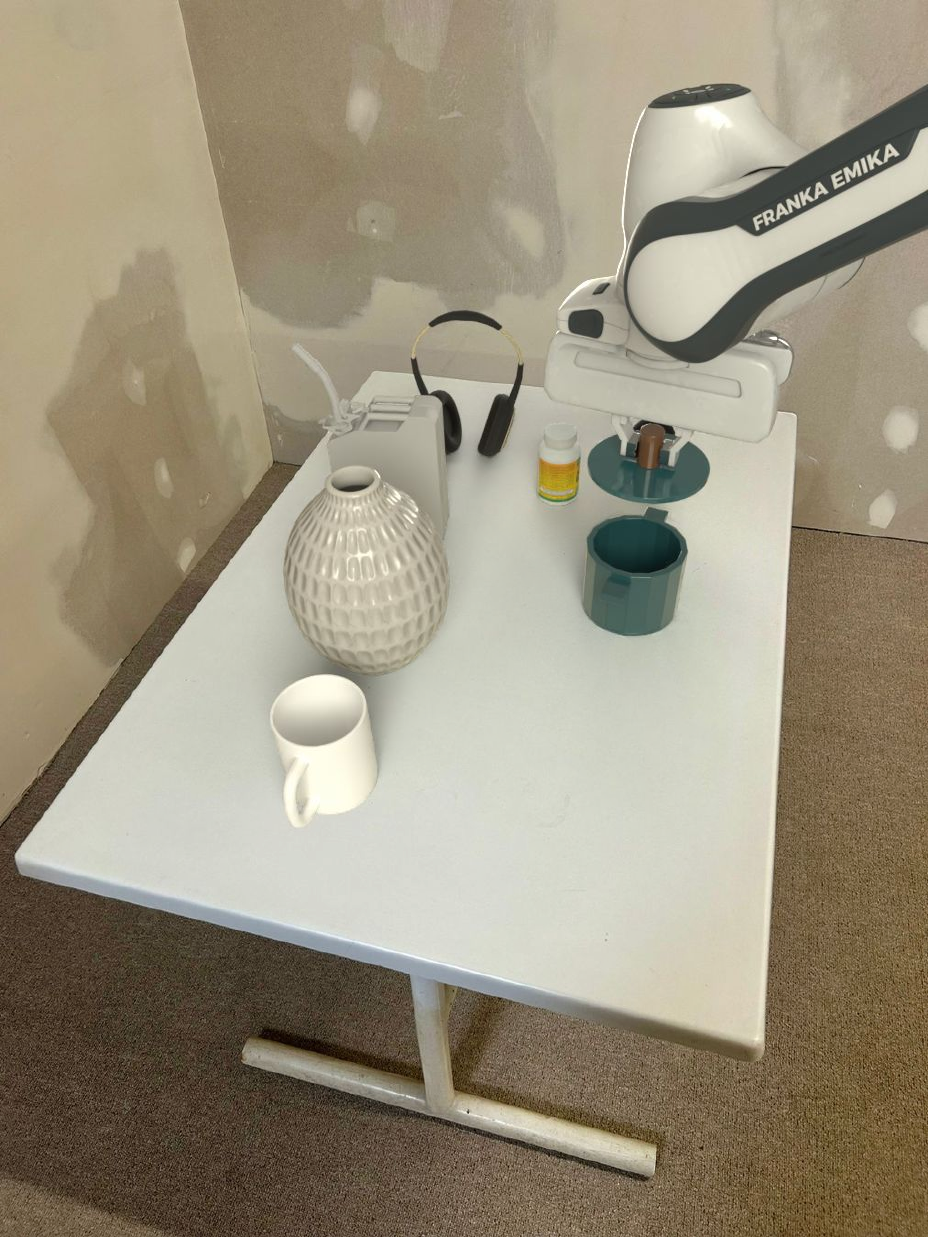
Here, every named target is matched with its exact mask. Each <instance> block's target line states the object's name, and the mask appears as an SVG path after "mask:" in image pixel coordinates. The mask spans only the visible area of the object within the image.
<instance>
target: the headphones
mask: <svg viewBox="0 0 928 1237" xmlns="http://www.w3.org/2000/svg"><path fill="white" fill-rule="evenodd" d="M452 321H453V322H454V321H459V322H473V323H479V324H482V325H486V326H488V327H491V328H493V329H495V330H496V331H499V332H501V333H502V334H503V335H504V336H505V337H506V338H507V339H508V340H509V341H510V343H511V344H512V346H513V348H514V349H515V352H516V354H517V357H518V363H517V369H516V376H515V378H514V383H513V386H512V388H511V390H510V392H509V395H507V394H505V393H498V394H496V395H495V396H494V399H493V400H492V403H491V407H490V409H489V412H488V415H487V417H486V418H487V419H486V421H485V424H484V427H483V430H482V432H481V436H480V439H479V442H478V445H477V452H478V453H479V454H480V455H481V456H483V457H486V458H492V457H493V456H494V457H495V456H496V455H497V454H498V453H499V454H500V453H501V452H502V450H503V449H504V448H505V445H506V444H507V442H508V439H509V436H510V433H511V430H512V427H513V424H514V421H515V417H516V408H515V404H516V401H517V399H518V396H519V393H520V389H521V386H522V382H523V377H524V366H525V363H524V359H523V355H522V352H521V349H520V347H519V345H518V343H517V342H516V340H515V339H514V338H513V336H512V335H511V334H510V333H509V332H508V331H507V330H506V329H505V328H504V327H503V325H502V324H500V323H499V322H498V321H497V320H495V319H494V318H492V317H490V316H488V315H486V314H484V313H481V312H479V311H474V310H468V309H461V310H460V309H459V310H451V311H449V312H446V313H443V314H440V315H438V316H437V317H435V318H434V319H432V320H431V321H430V322H428V324H427V325H426V326H425V327H424V328H423V329H422V330H421V331H420V333H419V334H418V335H417V336H416V338H415V340H414V342H413V345H412V347H411V355H410V363H411V370H412V374H413V378H414V381H415V384H416V386H417V389H418V392H419V395H428V396H435V397H437V398H438V399H439V400H440V401H441V403H442V409H443V425H444V441H445V455H449V454H454V453H455V452H457V451H458V450H459V448H460V447H461V445H462V440H463V427H462V419H461V416H460V413H459V409H458V407H457V403H456V402H455V399H454V398H453V397H452V395H451V394H450V393H449V392H448V391H446V390H442V389H438V390H433V391H432V392H430V393H429V391H428V388H427V386H426V384H425V381H424V380H423V377H422V375H421V371H420V369H419V368H420V367H419V365H418V364H419V363H418V359H417V356H416V350H417V347H418V343H419V342H420V340H421V338H422V337H423V336H424V335H425V333H426V332H428V330H430V329H431V328H434V327H436V326H439V325H441V324H443V323H447V322H452Z"/></svg>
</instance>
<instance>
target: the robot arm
mask: <svg viewBox="0 0 928 1237" xmlns="http://www.w3.org/2000/svg"><path fill="white" fill-rule="evenodd" d="M629 152H630V153H629V157H628V162H627V168H626V175H625V184H624V194H623V201H622V202H623V203H622V212H621V213H622V214H621V224H622V229H623V235H624V236H623V237H624V248H623V253H622V256H621V259H620V262H619V264H618V267H617V272H616V275H611V276H606V277H600V278H594V279H589V280H586V281H584V282H583V283H581V284H580V285H579V286H577V287H576V288H575V289H574V290H573V291H572V292H571V293H570V294H569V296H568V297H566V299H564V301H563V303H562V304H561V305H560V307H559V309H558V311H557V312H556V317H555V319H556V327H557V331H556V333H555V334H554V335H553V336H552V338H551V339H550V341H549V344H548V347H547V351H546V356H545V362H544V371H543V383H542V384H543V391H544V392H545V394H546V395H547V397H548V398H549V400H550V401H552V402H555V403H560V404H561V403H562V404H564V405H565V404H566V405H570V406H575V407H578V408H579V407H580V408H584V409H589V410H593V411H598V412H602V413H609V414H611V423H610V424H611V425H612V426H613V429H614V430H615V432H616V434H618V436H619V438H620V440H622V442H621V452H620V454H621V455H623V456H627V457H632V458H637V452H638V444H639V436H640V433H636V432H634V429H633V427H634V426H633V424H632V422H631V420H630V419H631V418H632V419H636V420H639V421H640V420H645V421H650V422H655V423H659V424H664V425H669V426H672V427H673V428H674V427H675V435H676V436H678V437H677V438H676V439H675V440H674V441H672V440H667V439H665V441H664V443H663V445H662V446H661V448H660V452H659V456H660V457H659V459H658V463H659V464H663V465H667V466H671V467H674V466H675V464H676V462H677V460H678V457H679V452H680V449H681V448H682V447H683V446H684V445H685V444H686V443H687V442H688V441H689V442H690V440H691V439H692V437H693V434H694V433H695V432H697V433H702V434H706V435H712V436H716V437H720V438H721V437H722V438H726V439H730V440H735V441H741V442H745V443H749V444H758V443H761V442H762V441H763V440H765V439H766V438H768V437H769V436H770V434H771V433H772V431H773V428H774V426H775V424H776V419H777V417H778V416H777V415H778V411H779V406H780V398H781V390H782V385H783V384H784V383H786V382H787V381H788V379H789V378H790V375H791V373H792V370H793V366H794V361H795V350H794V348H793V346H792V345H791V343H790V342H789V341H788V340H787V339H785V338H783V337H781V334H780V332H778V331H776V330H772V329H768V328H769V327H771V326H772V325H774V324H777V323H778V322H781V321H783V320H785V319H787V318H789V317H790V316H793V315H794V314H796V313H799V312H800V311H802V310H804V309H805V308H808V307H809V306H812V305H814V304H815V303H817V302H819V301H822V300H823V299H825V298H827V297H828V296H830V295H832V294H833V293H835V292H836V291H838V290H840V289H842V288H843V287H844V286H845V285H847V284H848V283H849V282H850V281H851V280H852V279H853V278H854V277H855V276H856V275H857V273H858V272H859V270H860V269H861V268H862V265H863V264H864V262H865V260H866V258H867V257H868V256H869V257H870V256H871V255H873V254H875V253H878V252H880V251H882V250H884V249H886V248H889V247H891V246H893V245H895V244H897V243H899V242H902V241H904V240H906V239H909V238H911V237H914V236H916V235H919V234H921V233H924V232H927V231H928V79H927V80H926V81H924V82H923V83H922V84H920V85H919V86H918V87H916V88H915V89H914V90H912V91H911V92H909V93H908V94H907V95H905V96H904V97H902V98H901V99H899V100H898V101H896V102H894V103H893V104H891V105H889V106H888V107H886V108H884V109H883V110H881V111H879V112H878V113H876V114H874V115H873V116H871V117H869V118H867V119H866V120H864V121H862V122H861V123H859V124H857V125H855V126H854V127H852V128H851V129H849V130H847V131H845V132H844V133H842V134H840V135H838V136H837V137H835V138H833V139H832V140H830V141H828V142H826V143H824V144H823V145H821V146H819V147H818V148H816V149H814V150H812V151H810V150H809V149H807V148H805V147H804V146H802V145H801V144H800V143H798V142H797V141H795V140H794V139H793V138H791V137H790V136H789V135H787V134H786V133H785V132H783V131H782V130H781V129H780V128H779V127H778V126H777V125H775V123H774V122H773V121H772V120H771V119H770V118H769V117H768V115H767V114H766V112H765V111H764V109H763V107H762V104H761V102H760V100H759V98H758V96H757V94H756V93H755V91H753V90H752V89H751V88H749V87H746V86H743V85H741V84H737V83H710V84H701V85H699V86H693V87H685V88H682V89H678V90H674V91H671V92H668V93H666V94H662V95H660V96H657V98H655V99H653V100H652V101H651V102H650V103H649V104H647V105H646V106H645V108H644V109H643V111H642V113H641V115H640V117H639V119H638V122H637V124H636V128H635V130H634V134H633V137H632V142H631V146H630V151H629Z"/></svg>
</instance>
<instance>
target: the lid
mask: <svg viewBox="0 0 928 1237" xmlns="http://www.w3.org/2000/svg"><path fill="white" fill-rule="evenodd" d="M634 432H636V433H640V436H639V444H638V452H637V458H632V457H627V456H623V455H621V454H620V452H621V442H622V440H620V438H619V436H618V434H617V433H615V434H613V435H610V436H607V437H606V438H603V439H602V440H600V441H598V442H597V443H596V444H595V445H594V446H593V447H592V448H591V450H590V452H589V453H588V456H587V461H586V462H587V463H586V469H587V472H588V475H589V477H590V479H591V480H592V482H593V483H594V484H595V485H596V486H597V487H599V488H600V489H601V490H602V491H604V492H606V493H607V494H609V495H611V496H613V497H615V498H618V499H621V500H625V501H628V502H633V503H637V504H646V505H647V504H648V505H660V504H661V505H663V504H670V503H671V504H672V503H675V502H680V501H682V500H683V501H684V500H685V499H689V498H691V497H692V496H694V495H696V494H698V493H699V492H700V491H701V490H703V488H704V487H705V486H706V484H707V483H708V481H709V478H710V475H711V474H710V473H711V464H710V461H709V459H708V456H707V455H706V454H705V453H704V451H703V450H702V449H700V447H698V446H697V445H696V444H694V443H692V442H691V441H690V440H689V441H688V442H687V443H686V444H685V445H684V446H683V447H682V448H681V449H680V452H679V457H678V460H677V462H676V464H675V466H674V467H671V466H667V465H663V464H659V463H658V459H659V457H660V456H659V452H660V448H661V446H662V445H663V443H664V441H665V439H667V440H672V441H674V440H675V439H676V438H677V437H678V436H675V435H671V434H667V433H665V429H664V428H663V427H662V426H660V425H657V424H647V425H644V426H642V427H641V429H640V431H634Z"/></svg>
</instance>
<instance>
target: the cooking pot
mask: <svg viewBox="0 0 928 1237" xmlns="http://www.w3.org/2000/svg"><path fill="white" fill-rule="evenodd" d="M668 518H669V511H668V510H664V509H661V508H657V507H652V506H647V507H646V509H645V511H644V513H643V514H621V515H618V516H613V517H610V518H609V517H608V518H605V519H604V520H602V521H601V522H599V523H598V524H596V525H595V526H593V527H592V528H591V530H590V532H589V534H588V535H587V537H586V541H585V542H586V543H585V555H584V556H585V557H584V569H583V581H582V594H581V595H582V602H581V603H582V607H583V610H584V612H585V615H586V616H587V617H588V618H589V620H590V621H591V622H592V623H593V624H595V625H596V626H597V627H599V628H601V629H602V630H604V631H607V632H609V633H611V634H614V635H619V636H626V637H642V636H648V635H652V634H655V633H658V632H660V631H662V630H663V629H665V628H667V627H668V626H669V625H670V624H671V623H672V621H674V618H675V617H676V613H677V611H678V608H679V604H680V598H681V593H682V586H683V582H684V581H683V580H684V577H685V576H684V575H685V570H686V564H687V560H688V559H687V558H688V554H689V549H688V545H687V539H686V538H685V537H684V535H683V534H682V533H681V532H680V531H679V530H678V528H677V527H675V526H673V525H672V524H669V523H668V522H667V521H668Z"/></svg>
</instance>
